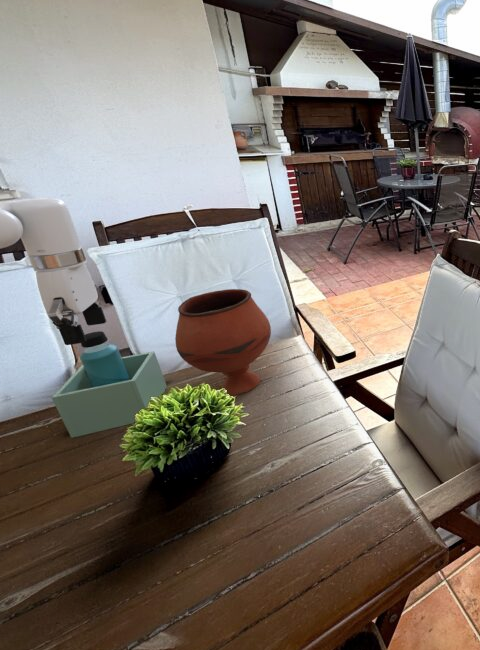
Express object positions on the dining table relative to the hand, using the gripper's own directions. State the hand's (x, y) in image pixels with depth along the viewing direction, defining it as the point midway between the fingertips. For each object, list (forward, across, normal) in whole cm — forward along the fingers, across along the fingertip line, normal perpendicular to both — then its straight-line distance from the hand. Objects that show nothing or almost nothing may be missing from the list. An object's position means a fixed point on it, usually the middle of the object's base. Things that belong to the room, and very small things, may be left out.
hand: (87, 333), depth 88 cm
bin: (+21, -1, +1) cm, 21 cm away
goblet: (+21, 0, +25) cm, 33 cm away
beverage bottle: (+21, -1, +1) cm, 21 cm away
